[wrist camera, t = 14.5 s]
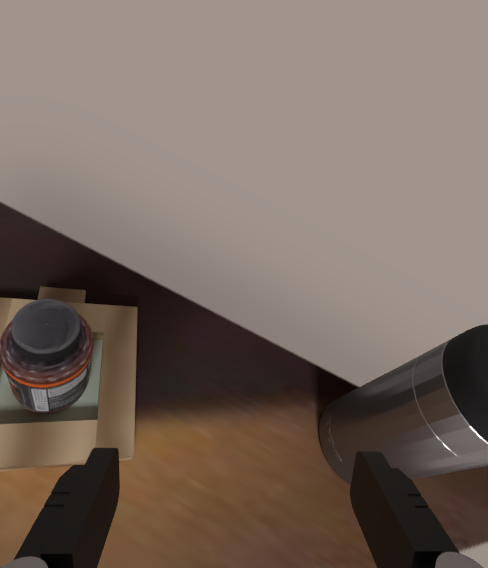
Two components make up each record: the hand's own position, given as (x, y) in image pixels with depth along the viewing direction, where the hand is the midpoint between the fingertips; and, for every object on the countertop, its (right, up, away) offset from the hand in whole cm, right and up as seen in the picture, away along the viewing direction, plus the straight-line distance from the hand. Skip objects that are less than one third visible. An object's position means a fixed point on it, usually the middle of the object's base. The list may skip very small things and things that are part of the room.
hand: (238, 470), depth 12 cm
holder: (-17, -2, +20) cm, 26 cm away
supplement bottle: (-17, -2, +20) cm, 26 cm away
